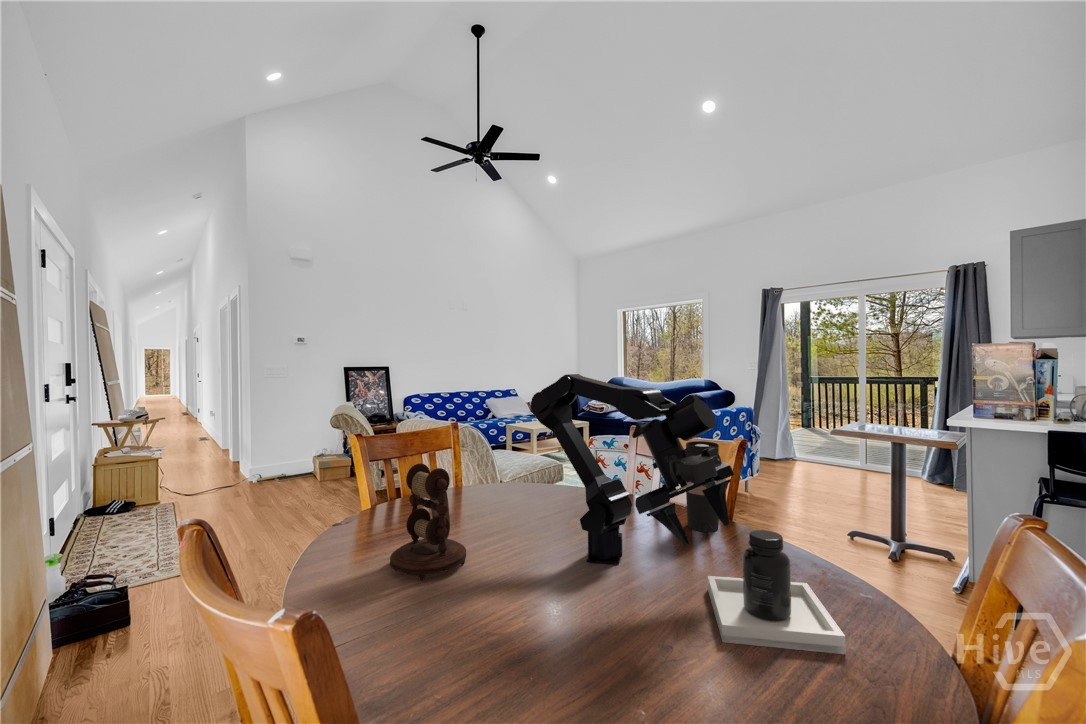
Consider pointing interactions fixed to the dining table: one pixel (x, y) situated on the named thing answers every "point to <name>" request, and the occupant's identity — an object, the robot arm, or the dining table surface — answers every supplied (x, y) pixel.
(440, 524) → the thread spool stand
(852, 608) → the dining table surface
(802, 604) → the tray
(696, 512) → the travel mug
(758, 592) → the supplement bottle
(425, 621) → the dining table surface
